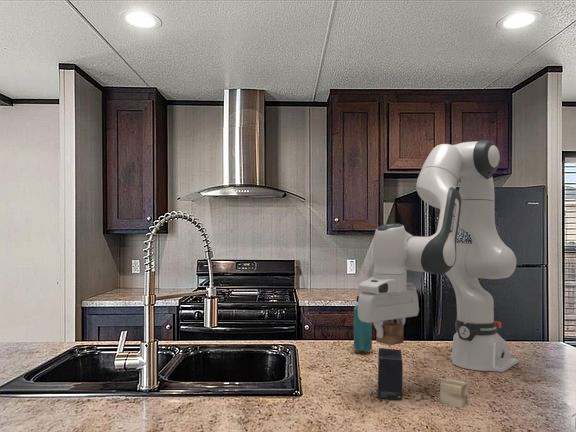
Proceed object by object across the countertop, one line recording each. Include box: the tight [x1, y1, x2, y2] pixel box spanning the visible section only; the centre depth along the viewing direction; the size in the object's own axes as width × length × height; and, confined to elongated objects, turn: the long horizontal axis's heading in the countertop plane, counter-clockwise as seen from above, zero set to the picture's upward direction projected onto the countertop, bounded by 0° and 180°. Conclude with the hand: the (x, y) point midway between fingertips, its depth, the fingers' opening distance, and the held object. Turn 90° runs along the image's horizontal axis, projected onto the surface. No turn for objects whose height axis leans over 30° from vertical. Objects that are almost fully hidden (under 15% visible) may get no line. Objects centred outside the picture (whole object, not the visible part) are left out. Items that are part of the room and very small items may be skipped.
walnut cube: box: [375, 320, 404, 346], centre depth 122 cm, size 5×5×5 cm
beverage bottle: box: [353, 295, 373, 352], centre depth 162 cm, size 6×7×20 cm
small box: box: [377, 347, 404, 401], centre depth 122 cm, size 11×6×10 cm, turn 168°
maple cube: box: [439, 378, 469, 409], centre depth 115 cm, size 5×5×5 cm
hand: (389, 336), depth 122 cm, fingers closed on walnut cube, 5 cm apart
